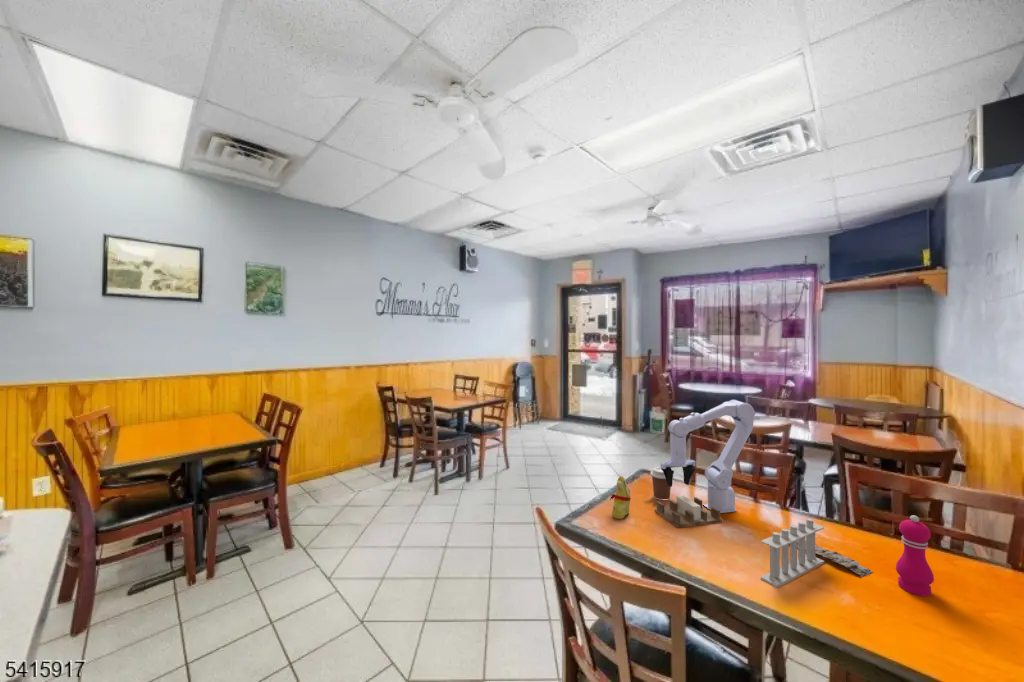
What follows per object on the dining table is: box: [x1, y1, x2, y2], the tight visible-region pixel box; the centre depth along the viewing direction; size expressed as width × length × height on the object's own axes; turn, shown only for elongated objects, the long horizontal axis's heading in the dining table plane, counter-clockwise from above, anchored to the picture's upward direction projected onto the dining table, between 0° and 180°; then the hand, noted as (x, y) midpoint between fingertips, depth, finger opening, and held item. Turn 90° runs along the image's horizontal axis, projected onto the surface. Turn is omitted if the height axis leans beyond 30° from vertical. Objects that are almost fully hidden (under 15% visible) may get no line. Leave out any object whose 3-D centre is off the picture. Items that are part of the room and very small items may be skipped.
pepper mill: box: [895, 514, 935, 597], centre depth 106 cm, size 7×7×20 cm
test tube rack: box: [760, 518, 825, 588], centre depth 115 cm, size 25×4×13 cm, turn 118°
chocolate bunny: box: [609, 475, 631, 520], centre depth 153 cm, size 7×11×15 cm, turn 141°
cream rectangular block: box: [675, 495, 701, 520], centre depth 150 cm, size 3×10×5 cm, turn 13°
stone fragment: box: [797, 540, 874, 578], centre depth 124 cm, size 25×3×10 cm
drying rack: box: [654, 496, 723, 529], centre depth 150 cm, size 19×14×4 cm
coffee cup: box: [650, 466, 672, 500], centre depth 168 cm, size 9×9×12 cm
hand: (678, 485), depth 157 cm, fingers open, 7 cm apart
